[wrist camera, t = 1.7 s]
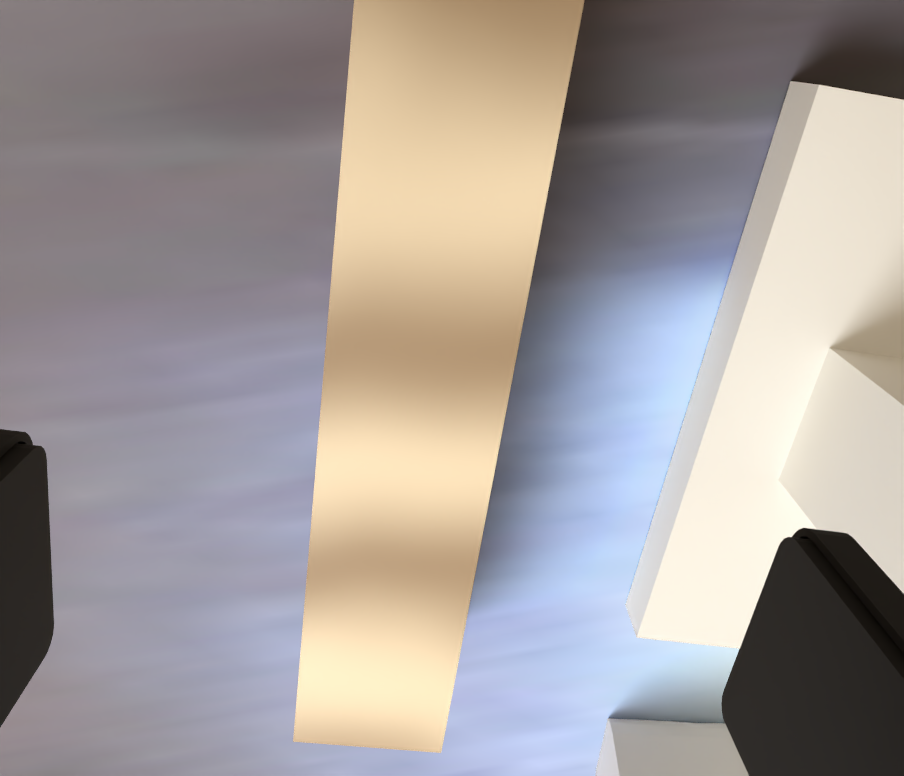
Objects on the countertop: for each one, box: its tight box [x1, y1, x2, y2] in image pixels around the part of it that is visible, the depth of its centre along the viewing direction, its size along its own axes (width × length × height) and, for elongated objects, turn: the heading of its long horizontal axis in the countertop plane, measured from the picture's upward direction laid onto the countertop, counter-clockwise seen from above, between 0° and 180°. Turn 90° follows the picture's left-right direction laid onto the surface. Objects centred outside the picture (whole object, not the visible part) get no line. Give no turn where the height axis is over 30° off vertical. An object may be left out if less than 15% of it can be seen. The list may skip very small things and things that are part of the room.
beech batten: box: [293, 0, 584, 753], centre depth 18 cm, size 24×4×5 cm, turn 172°
